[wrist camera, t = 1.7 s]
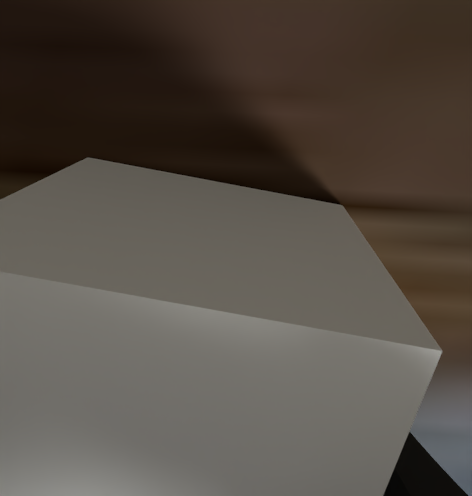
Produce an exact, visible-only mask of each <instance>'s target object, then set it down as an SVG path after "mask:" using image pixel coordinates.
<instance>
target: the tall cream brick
mask: <svg viewBox="0 0 472 496" xmlns="http://www.w3.org/2000/svg"><path fill="white" fill-rule="evenodd" d="M441 353H442V350H441V348H440V347H439V345H438V344H437V342H436V341H435V340H434V338H433V337H432V335H431V334H430V332H429V331H428V329H427V328H426V326H425V325H424V324H423V322H422V321H421V319H420V318H419V316H418V315H417V313H416V312H415V310H414V309H413V307H412V306H411V305H410V303H409V302H408V300H407V299H406V297H405V296H404V294H403V293H402V291H401V290H400V289H399V287H398V286H397V284H396V283H395V281H394V280H393V278H392V277H391V275H390V274H389V273H388V271H387V270H386V268H385V267H384V265H383V264H382V262H381V261H380V259H379V258H378V256H377V255H376V254H375V252H374V251H373V249H372V248H371V246H370V245H369V243H368V242H367V240H366V239H365V238H364V236H363V235H362V233H361V232H360V230H359V229H358V227H357V226H356V224H355V223H354V222H353V220H352V219H351V217H350V216H349V214H348V213H347V211H346V210H345V208H344V207H343V205H339V204H333V203H328V202H323V201H317V200H312V199H307V198H301V197H296V196H291V195H285V194H280V193H275V192H270V191H264V190H259V189H254V188H248V187H243V186H238V185H232V184H227V183H222V182H216V181H211V180H206V179H201V178H195V177H190V176H185V175H179V174H174V173H169V172H163V171H158V170H153V169H147V168H142V167H137V166H132V165H126V164H121V163H116V162H110V161H105V160H100V159H94V158H89V157H87V158H85V159H83V160H81V161H79V162H77V163H75V164H73V165H71V166H69V167H67V168H65V169H63V170H60V171H58V172H56V173H54V174H52V175H50V176H48V177H46V178H44V179H42V180H40V181H38V182H36V183H34V184H32V185H29V186H27V187H25V188H23V189H21V190H19V191H17V192H15V193H13V194H11V195H9V196H7V197H5V198H3V199H0V496H383V495H384V492H385V490H386V487H387V485H388V483H389V480H390V478H391V475H392V473H393V470H394V468H395V465H396V463H397V461H398V458H399V456H400V453H401V451H402V448H403V446H404V444H405V441H406V439H407V436H408V434H409V431H410V429H411V426H412V424H413V422H414V419H415V417H416V414H417V412H418V409H419V407H420V405H421V402H422V400H423V397H424V395H425V392H426V390H427V387H428V385H429V383H430V380H431V378H432V375H433V373H434V370H435V368H436V366H437V363H438V361H439V358H440V356H441Z"/></svg>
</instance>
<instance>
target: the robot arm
mask: <svg viewBox="0 0 472 496" xmlns="http://www.w3.org/2000/svg"><path fill="white" fill-rule="evenodd" d="M383 496H468V495H467V494H466V493H465V492H464V491H463V490H462V489H461V488H460V487H459V486H458V485H457V484H456V483H455V482H454V481H453V479H452V478H451V477H450V476H449V475H448V474H447V473H446V472H445V471H444V470H443V469H442V468H441V467H440V465H439V464H438V463H437V462H436V461H435V460H434V459H433V458H432V457H431V456H430V454H429V453H428V452H427V451H426V450H425V449H424V448H423V447H422V445H421V444H420V443H419V442H418V441H417V440H416V439H415V437H414V436H413V435H412V434H411V433H410V432H409V434H408V436H407V439H406V441H405V444H404V446H403V448H402V451H401V453H400V456H399V458H398V461H397V463H396V465H395V468H394V470H393V473H392V475H391V478H390V480H389V483H388V485H387V487H386V490H385V492H384V495H383Z"/></svg>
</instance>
